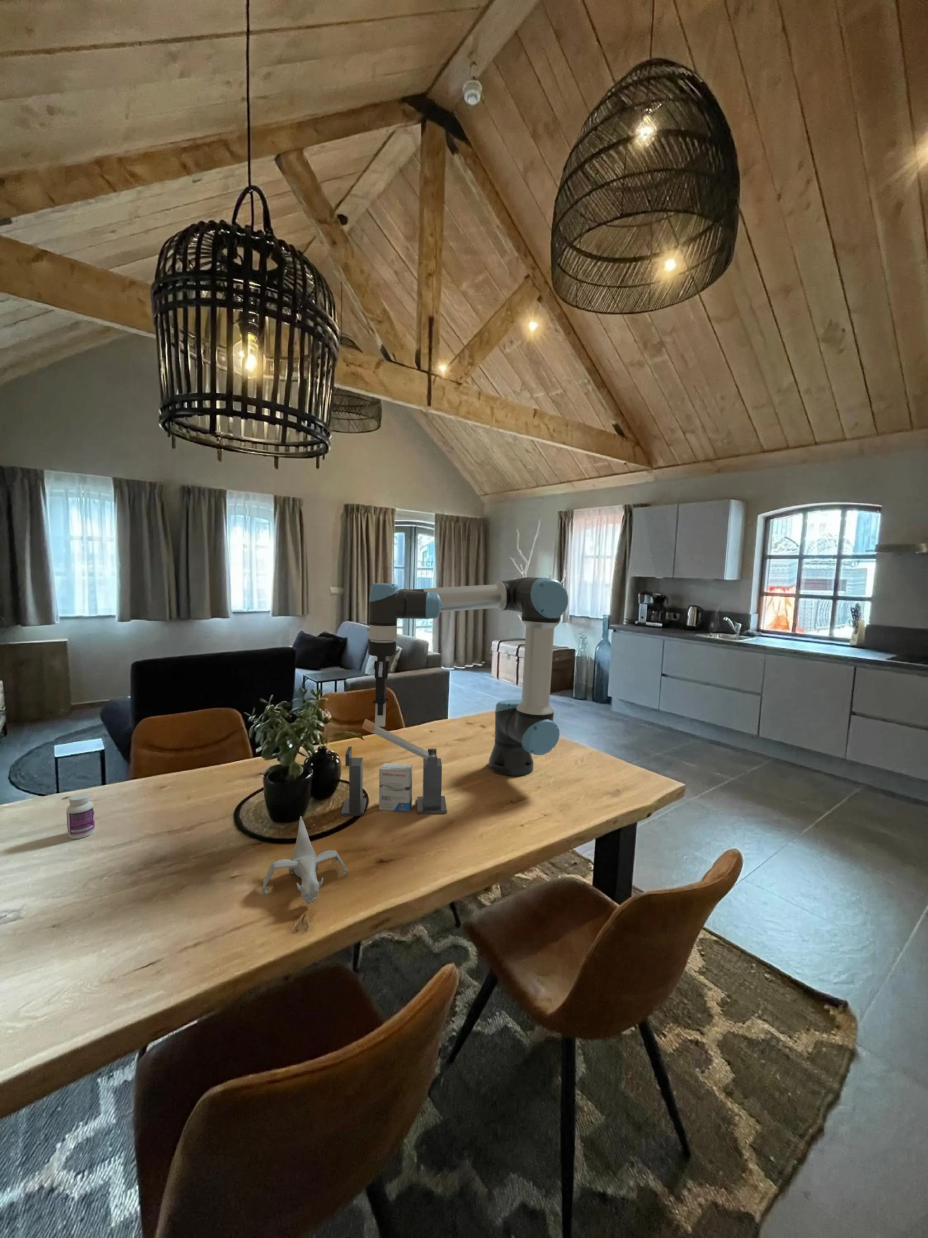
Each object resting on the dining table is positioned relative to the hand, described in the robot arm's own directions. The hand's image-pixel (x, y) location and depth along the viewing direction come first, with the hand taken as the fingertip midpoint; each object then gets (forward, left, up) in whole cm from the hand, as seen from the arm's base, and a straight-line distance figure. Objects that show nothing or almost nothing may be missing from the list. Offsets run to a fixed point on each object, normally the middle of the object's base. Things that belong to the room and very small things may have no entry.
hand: (380, 725), depth 138 cm
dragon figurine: (+13, +33, -24) cm, 43 cm away
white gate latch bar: (-5, 0, -5) cm, 7 cm away
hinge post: (-15, 0, -24) cm, 28 cm away
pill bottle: (+71, +10, -24) cm, 76 cm away
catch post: (+6, 0, -24) cm, 24 cm away
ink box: (-5, 0, -24) cm, 24 cm away
